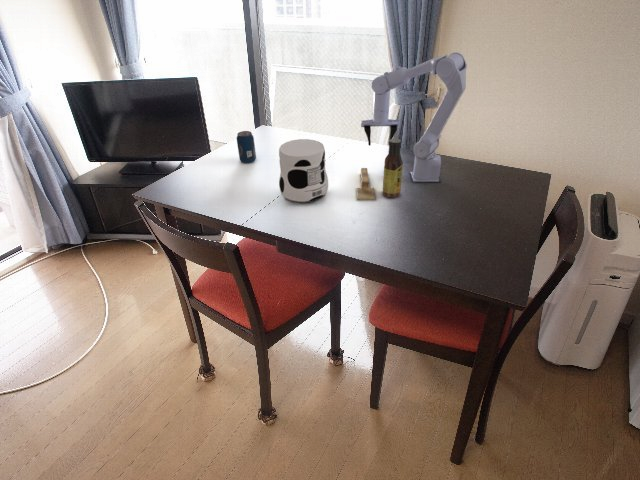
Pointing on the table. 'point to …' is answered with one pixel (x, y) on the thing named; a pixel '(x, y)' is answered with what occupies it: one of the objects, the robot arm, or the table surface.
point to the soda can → (246, 147)
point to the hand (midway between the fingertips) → (379, 144)
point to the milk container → (302, 170)
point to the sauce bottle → (393, 170)
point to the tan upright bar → (365, 187)
